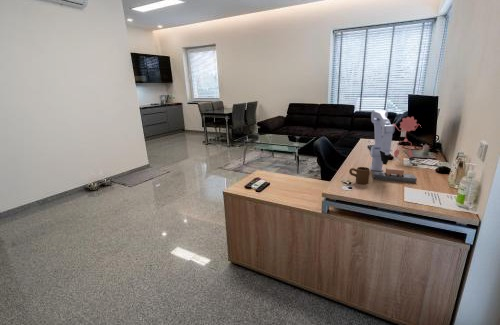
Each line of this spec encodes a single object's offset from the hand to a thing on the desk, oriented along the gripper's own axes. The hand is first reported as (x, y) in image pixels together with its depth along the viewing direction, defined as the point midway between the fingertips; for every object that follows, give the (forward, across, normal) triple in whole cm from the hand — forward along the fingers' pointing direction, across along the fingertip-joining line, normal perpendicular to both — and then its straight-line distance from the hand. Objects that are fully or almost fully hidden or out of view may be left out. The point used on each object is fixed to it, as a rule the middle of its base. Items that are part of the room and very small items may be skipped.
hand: (383, 162), depth 169 cm
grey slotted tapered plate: (+9, -5, -6) cm, 12 cm away
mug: (+10, -17, +16) cm, 25 cm away
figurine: (+10, +55, -23) cm, 60 cm away
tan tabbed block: (+9, -5, -6) cm, 12 cm away
